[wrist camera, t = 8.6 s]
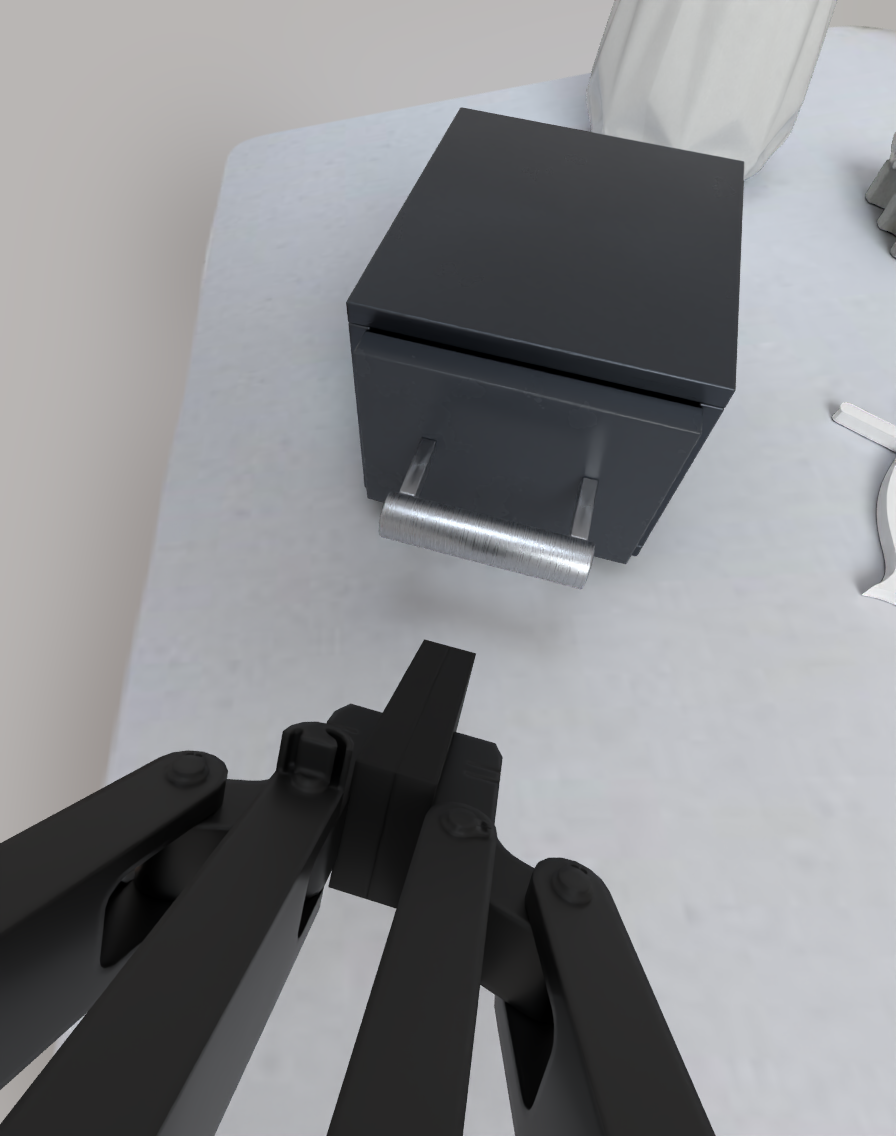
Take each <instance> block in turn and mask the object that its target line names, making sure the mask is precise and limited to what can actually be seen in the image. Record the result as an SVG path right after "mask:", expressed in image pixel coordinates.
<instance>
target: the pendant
mask: <svg viewBox="0 0 896 1136" xmlns="http://www.w3.org/2000/svg"><path fill="white" fill-rule="evenodd" d="M832 418H833V420H834V421H835V422H837V423H839V424H841V425H843V426H845V427H847V428H849V429H851V430H853V431H855V432H857V433H859V434H860V435H862V436H864V437H866V438H868V439H870V440H872V441H874V442H876V443H878V444H880V445H882V446H884V447H886V448H888V449H890V450H892V451H894V452H896V426H895V425H893V424H891V423H889V422H887V421H885V420H883V419H881V418H879V417H877V416H875V415H873V414H871V413H869V412H867V411H865V410H863V409H861V408H859V407H857V406H855V405H853V404H851V403H848V402H844V403H842V404H841V406H840V408H839V410H838V411H837V412H836V413H834V414H833V416H832ZM877 525H878V532H879V537H880V542H881V546H882V550H883V554H884V558H885V566H886V570H885V576H884V578H883V580H882V582H881V583H879V584H877V585H874V586H873V587H871V588H870V589H869V590H867V591H866V592H865V593H863V594H862V595H864V596H870V597H874V598H878V599H881V600H884V601H887V602H890V603H892V604H894V605H896V458H895V460H894V461H893V463H892V465H891V466H890V468H889V470H888V472H887V473H886V475H885V477H884V480H883V482H882V485H881V488H880V492H879V496H878V502H877Z"/></svg>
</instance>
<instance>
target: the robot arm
mask: <svg viewBox="0 0 896 1136" xmlns="http://www.w3.org/2000/svg"><path fill="white" fill-rule="evenodd" d="M475 656H476V653H472V652H468V651H465V650H461V649H457V648H454V647H450V646H446V645H443V644H439V643H435V642H432V641H428V640H424V641H423V643H422V644H421V646H420V648H419V650H418V652H417V653H416V655H415V657H414V659H413V660H412V662H411V664H410V666H409V667H408V669H407V671H406V673H405V674H404V676H403V678H402V680H401V682H400V683H399V685H398V687H397V689H396V690H395V692H394V694H393V696H392V697H391V699H390V701H389V703H388V704H387V706H386V708H385V710H384V712H383V713H381V712H378V711H374V710H371V709H367V708H364V707H360V706H357V705H353V704H349V705H347V706H345V707H342V708H340V709H338V710H336V711H335V712H334V713H333V714H332V716H331V717H330V718H329V720H328V721H327V723H320V722H302V723H298V724H294V725H291V726H290V727H288V728H287V729H285V730H284V731H283V734H282V739H281V745H280V751H279V756H278V762H277V767H276V771H275V773H274V774H273V775H272V776H271V778H270V779H268V780H262V781H246V780H233V779H227V774H228V770H227V768H226V765H225V763H224V762H223V761H221V760H220V759H219V758H217V757H216V756H214V755H211V754H208V753H205V752H199V751H180V752H173V753H170V754H167V755H165V756H162V757H159V758H158V759H156V760H154V761H152V762H150V763H148V764H146V765H145V766H143V767H141V768H139V769H137V770H135V771H134V772H132V773H130V774H128V775H126V776H124V777H122V778H121V779H119V780H117V781H115V782H113V783H111V784H109V785H108V786H106V787H104V788H102V789H100V790H98V791H97V792H95V793H93V794H91V795H89V796H87V797H85V798H84V799H82V800H80V801H78V802H76V803H74V804H72V805H71V806H69V807H67V808H65V809H63V810H61V811H60V812H58V813H56V814H54V815H52V816H50V817H48V818H47V819H45V820H43V821H41V822H39V823H37V824H35V825H33V826H32V827H30V828H28V829H26V830H24V831H22V832H21V833H19V834H17V835H15V836H13V837H11V838H9V839H8V840H6V841H4V842H2V843H0V1090H1V1089H2V1088H3V1087H4V1086H5V1085H6V1084H7V1083H9V1082H10V1081H11V1080H12V1079H13V1078H14V1077H15V1076H16V1075H18V1074H19V1073H20V1072H21V1071H22V1070H23V1069H24V1068H25V1067H27V1066H28V1065H29V1064H30V1063H31V1062H32V1061H33V1060H34V1059H36V1058H37V1057H38V1056H39V1055H40V1054H41V1053H42V1052H43V1051H44V1050H46V1049H47V1048H48V1047H49V1046H50V1045H51V1044H52V1043H53V1042H55V1041H56V1040H57V1039H58V1038H59V1037H60V1036H61V1035H62V1034H63V1033H65V1032H66V1031H67V1030H68V1029H69V1028H70V1027H71V1026H72V1025H74V1024H75V1023H76V1022H77V1021H78V1020H79V1019H80V1018H81V1017H82V1016H84V1015H85V1014H86V1013H87V1014H86V1015H85V1016H84V1018H83V1019H82V1020H81V1021H80V1023H79V1024H78V1025H77V1027H76V1028H75V1029H74V1030H73V1032H72V1033H71V1034H70V1036H69V1037H68V1038H67V1039H66V1041H65V1042H64V1043H63V1044H62V1046H61V1047H60V1048H59V1050H58V1051H57V1052H56V1053H55V1055H54V1056H53V1057H52V1059H51V1060H50V1061H49V1062H48V1064H47V1065H46V1066H45V1068H44V1069H43V1070H42V1071H41V1073H40V1074H39V1075H38V1077H37V1078H36V1079H35V1080H34V1082H33V1083H32V1084H31V1086H30V1087H29V1088H28V1089H27V1091H26V1092H25V1093H24V1095H23V1096H22V1097H21V1099H20V1100H19V1101H18V1102H17V1104H16V1105H15V1106H14V1108H13V1109H12V1110H11V1111H10V1113H9V1114H8V1115H7V1116H6V1118H5V1119H4V1120H3V1122H2V1123H1V1124H0V1136H214V1135H215V1133H216V1131H217V1129H218V1126H219V1124H220V1122H221V1120H222V1118H223V1116H224V1113H225V1111H226V1109H227V1107H228V1105H229V1103H230V1100H231V1098H232V1096H233V1094H234V1092H235V1090H236V1088H237V1085H238V1083H239V1081H240V1079H241V1077H242V1075H243V1072H244V1070H245V1068H246V1066H247V1064H248V1062H249V1059H250V1057H251V1055H252V1053H253V1051H254V1049H255V1046H256V1044H257V1042H258V1040H259V1038H260V1036H261V1034H262V1031H263V1029H264V1027H265V1025H266V1023H267V1021H268V1018H269V1016H270V1014H271V1012H272V1010H273V1008H274V1005H275V1003H276V1001H277V999H278V997H279V995H280V992H281V990H282V988H283V986H284V984H285V982H286V980H287V977H288V975H289V973H290V971H291V969H292V967H293V964H294V962H295V960H296V958H297V956H298V954H299V951H300V949H301V947H302V945H303V943H304V941H305V938H306V936H307V934H308V932H309V930H310V928H311V926H312V923H313V921H314V919H315V917H316V915H317V913H318V910H319V908H320V903H321V898H322V894H323V889H324V885H325V883H326V881H327V879H328V877H329V875H330V873H331V871H332V873H331V878H330V882H329V887H330V888H333V889H336V890H340V891H343V892H346V893H349V894H352V895H355V896H359V897H362V898H365V899H368V900H371V901H374V902H378V903H381V904H384V905H387V906H390V907H393V908H397V909H396V912H395V916H394V919H393V922H392V925H391V929H390V932H389V935H388V938H387V942H386V945H385V948H384V951H383V955H382V958H381V961H380V964H379V967H378V971H377V974H376V977H375V980H374V984H373V987H372V990H371V993H370V997H369V1000H368V1003H367V1006H366V1010H365V1013H364V1016H363V1019H362V1023H361V1026H360V1029H359V1032H358V1036H357V1039H356V1042H355V1045H354V1048H353V1052H352V1055H351V1058H350V1061H349V1065H348V1068H347V1071H346V1074H345V1078H344V1081H343V1084H342V1087H341V1091H340V1094H339V1097H338V1100H337V1104H336V1107H335V1110H334V1113H333V1117H332V1120H331V1123H330V1126H329V1129H328V1133H327V1136H463V1129H464V1120H465V1111H466V1103H467V1094H468V1085H469V1077H470V1068H471V1059H472V1051H473V1042H474V1033H475V1025H476V1016H477V1007H478V998H479V990H480V985H482V986H483V987H485V988H486V989H488V990H489V991H491V992H492V993H494V994H495V1004H494V1008H495V1014H496V1020H497V1026H498V1032H499V1038H500V1045H501V1051H502V1057H503V1063H504V1069H505V1075H506V1082H507V1088H508V1094H509V1100H510V1106H511V1112H512V1119H513V1125H514V1131H515V1136H715V1134H714V1131H713V1129H712V1127H711V1124H710V1122H709V1120H708V1117H707V1115H706V1113H705V1110H704V1108H703V1106H702V1104H701V1101H700V1099H699V1097H698V1094H697V1092H696V1090H695V1087H694V1085H693V1083H692V1080H691V1078H690V1076H689V1074H688V1071H687V1069H686V1067H685V1064H684V1062H683V1060H682V1057H681V1055H680V1053H679V1051H678V1048H677V1046H676V1044H675V1041H674V1039H673V1037H672V1034H671V1032H670V1030H669V1027H668V1025H667V1023H666V1021H665V1018H664V1016H663V1014H662V1011H661V1009H660V1007H659V1004H658V1002H657V1000H656V997H655V995H654V993H653V991H652V988H651V986H650V984H649V981H648V979H647V977H646V974H645V972H644V970H643V967H642V965H641V963H640V961H639V958H638V956H637V954H636V951H635V949H634V947H633V944H632V942H631V940H630V937H629V935H628V933H627V931H626V928H625V926H624V924H623V921H622V919H621V917H620V914H619V912H618V910H617V908H616V905H615V903H614V901H613V898H612V896H611V894H610V891H609V890H608V888H607V887H606V885H605V884H604V882H603V881H602V879H600V878H599V877H598V876H597V875H596V874H595V873H594V872H593V871H591V870H590V869H589V868H587V867H585V866H583V865H581V864H579V863H578V862H576V861H572V860H568V859H565V858H547V859H545V860H542V861H540V862H538V864H537V865H536V867H535V868H533V867H531V866H529V865H528V864H526V863H524V862H522V861H521V860H519V859H518V858H516V857H515V856H513V855H512V854H511V853H510V852H509V851H507V850H506V849H505V848H504V847H503V845H502V844H501V842H500V841H499V840H498V838H497V833H496V827H495V825H494V824H495V815H496V807H497V799H498V791H499V782H500V774H501V773H500V772H501V766H502V755H501V754H500V752H499V750H498V748H497V746H496V744H495V743H492V742H489V741H485V740H482V739H478V738H475V737H471V736H468V735H464V734H461V733H457V732H456V730H457V726H458V722H459V718H460V714H461V710H462V706H463V702H464V698H465V695H466V691H467V687H468V683H469V679H470V675H471V671H472V667H473V663H474V659H475Z"/></svg>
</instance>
